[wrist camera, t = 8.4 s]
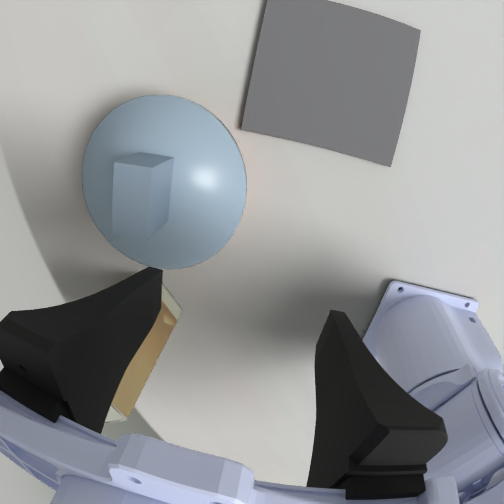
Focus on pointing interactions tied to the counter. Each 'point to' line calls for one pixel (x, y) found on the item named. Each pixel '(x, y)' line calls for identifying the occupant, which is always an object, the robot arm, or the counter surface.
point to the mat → (331, 77)
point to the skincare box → (144, 360)
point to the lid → (164, 181)
